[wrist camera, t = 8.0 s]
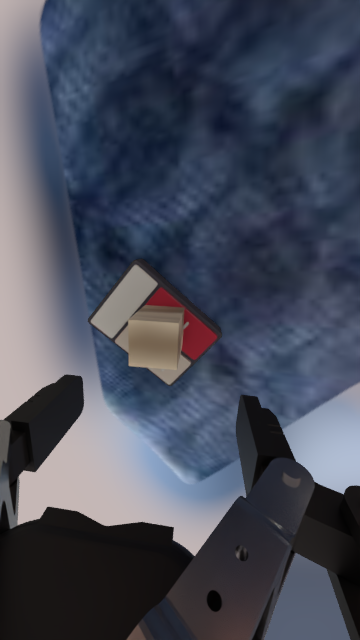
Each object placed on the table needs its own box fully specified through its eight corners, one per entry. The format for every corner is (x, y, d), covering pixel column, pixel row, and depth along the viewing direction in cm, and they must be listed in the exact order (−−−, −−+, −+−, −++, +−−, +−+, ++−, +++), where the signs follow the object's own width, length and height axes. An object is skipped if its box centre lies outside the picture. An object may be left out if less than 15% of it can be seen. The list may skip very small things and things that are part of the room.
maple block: (145, 305, 30) (128, 319, 23) (184, 307, 29) (178, 323, 23) (144, 342, 31) (128, 365, 24) (182, 345, 31) (176, 370, 24)
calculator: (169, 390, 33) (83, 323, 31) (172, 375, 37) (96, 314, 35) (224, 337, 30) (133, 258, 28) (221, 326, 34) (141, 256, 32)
